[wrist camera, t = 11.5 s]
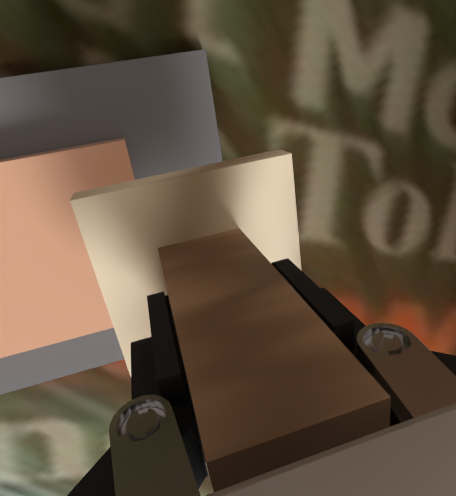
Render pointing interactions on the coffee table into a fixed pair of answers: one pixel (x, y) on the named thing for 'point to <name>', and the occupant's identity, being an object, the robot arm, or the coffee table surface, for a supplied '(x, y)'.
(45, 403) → the coffee table surface
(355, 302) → the coffee table surface
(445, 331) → the coffee table surface
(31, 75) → the mat
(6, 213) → the tile
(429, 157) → the coffee table surface
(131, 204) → the square post stand
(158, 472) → the robot arm
